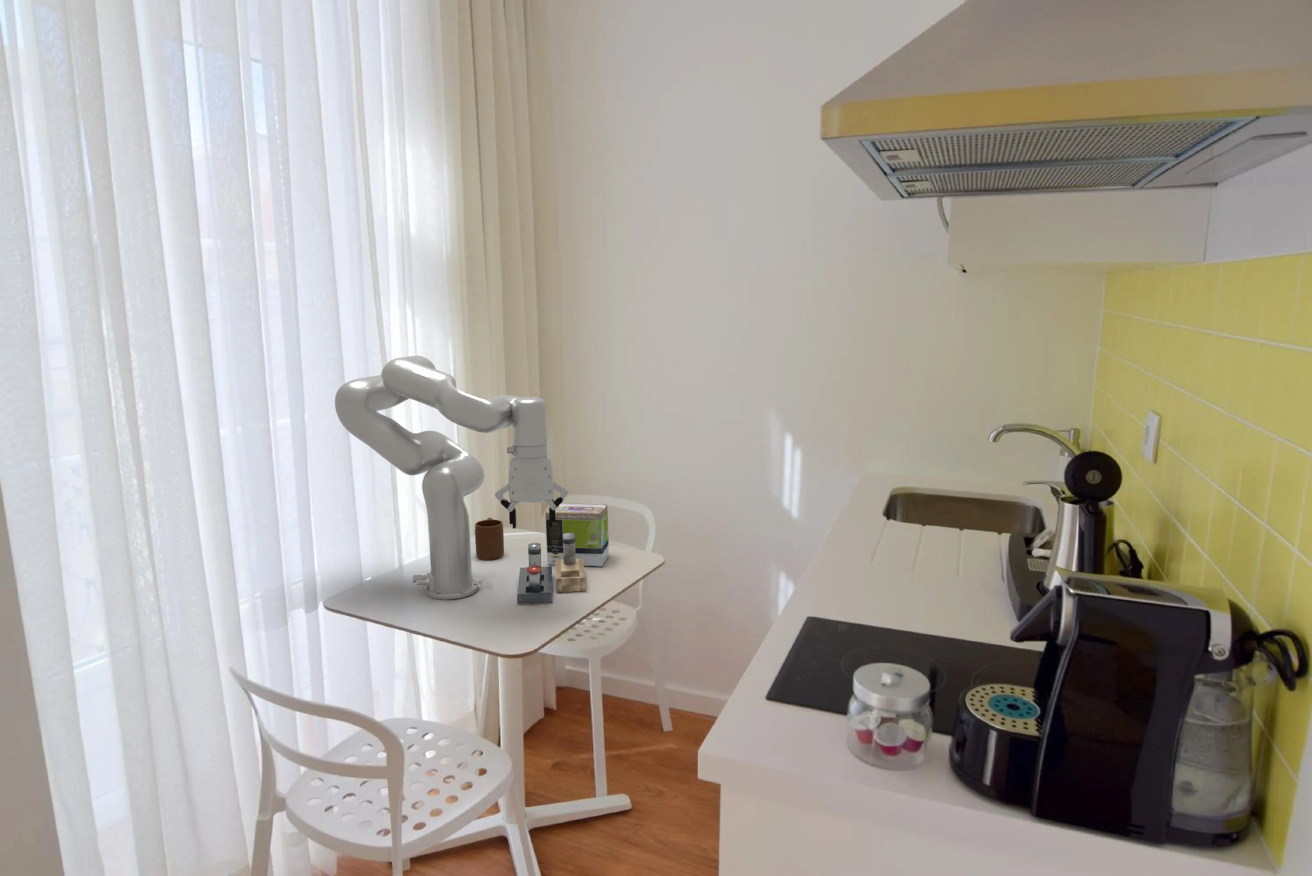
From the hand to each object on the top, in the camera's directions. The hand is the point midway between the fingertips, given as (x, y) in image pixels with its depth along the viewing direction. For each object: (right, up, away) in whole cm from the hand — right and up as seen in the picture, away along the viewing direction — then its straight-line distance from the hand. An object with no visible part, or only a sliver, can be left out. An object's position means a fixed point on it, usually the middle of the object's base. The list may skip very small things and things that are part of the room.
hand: (532, 525), depth 182 cm
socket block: (-1, -17, +10) cm, 19 cm away
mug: (-17, -12, +36) cm, 42 cm away
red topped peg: (0, -15, +3) cm, 15 cm away
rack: (+7, -16, +15) cm, 22 cm away
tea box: (+7, -13, +30) cm, 34 cm away
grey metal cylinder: (-1, -16, +11) cm, 19 cm away
